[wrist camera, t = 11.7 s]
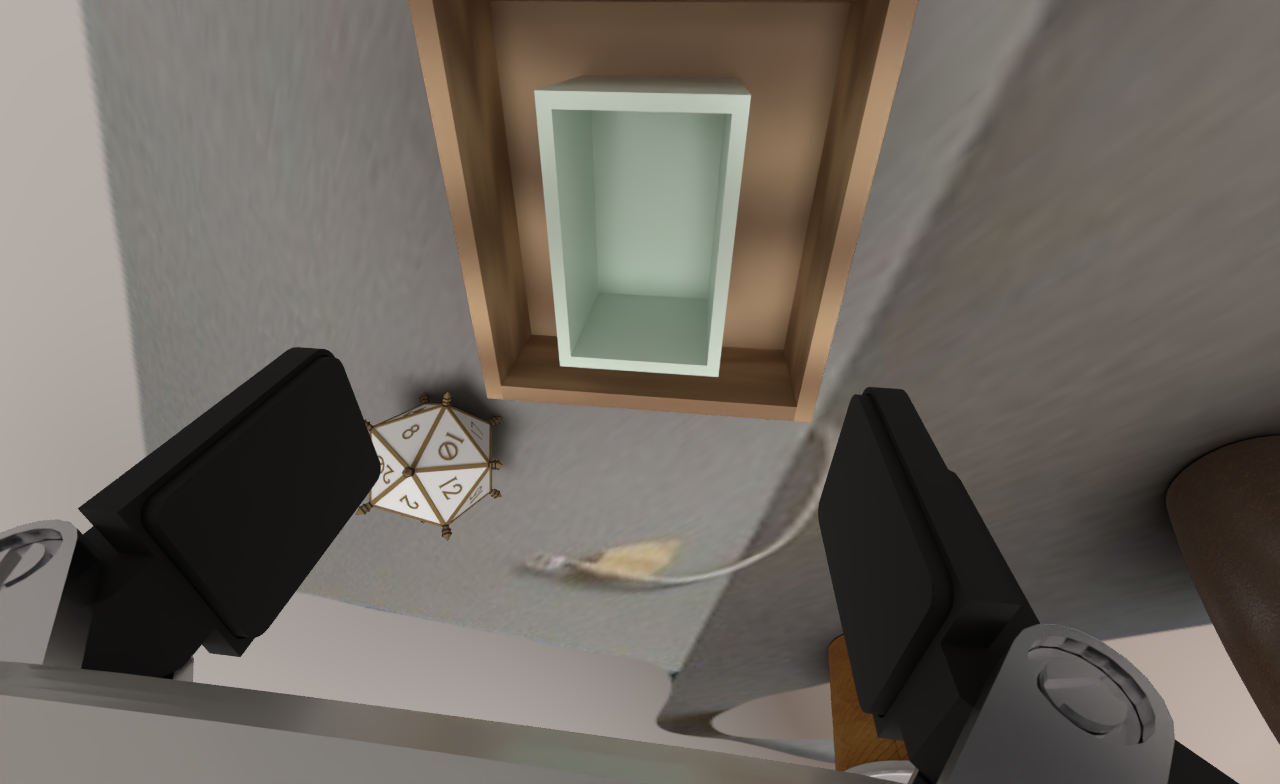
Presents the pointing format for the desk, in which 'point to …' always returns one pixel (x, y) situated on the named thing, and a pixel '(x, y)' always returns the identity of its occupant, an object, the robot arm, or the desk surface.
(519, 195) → the big crate
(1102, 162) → the desk surface
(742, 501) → the desk surface
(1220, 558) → the plant pot
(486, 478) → the game die
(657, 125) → the box
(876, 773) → the disposable coffee cup
